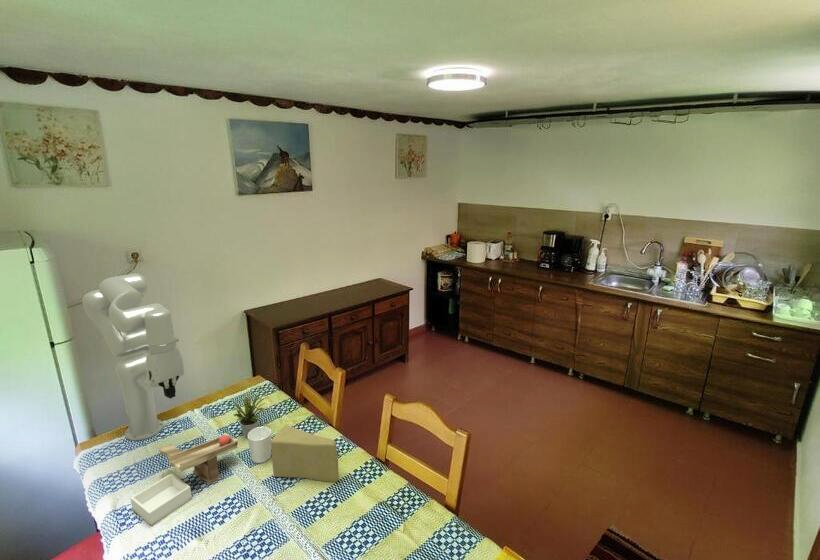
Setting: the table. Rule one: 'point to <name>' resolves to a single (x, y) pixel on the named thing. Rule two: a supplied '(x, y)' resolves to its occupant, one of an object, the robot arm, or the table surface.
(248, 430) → the house plant
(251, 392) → the table surface
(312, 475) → the cheese
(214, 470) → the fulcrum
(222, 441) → the ball
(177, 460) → the lever
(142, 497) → the dish
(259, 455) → the white cup
